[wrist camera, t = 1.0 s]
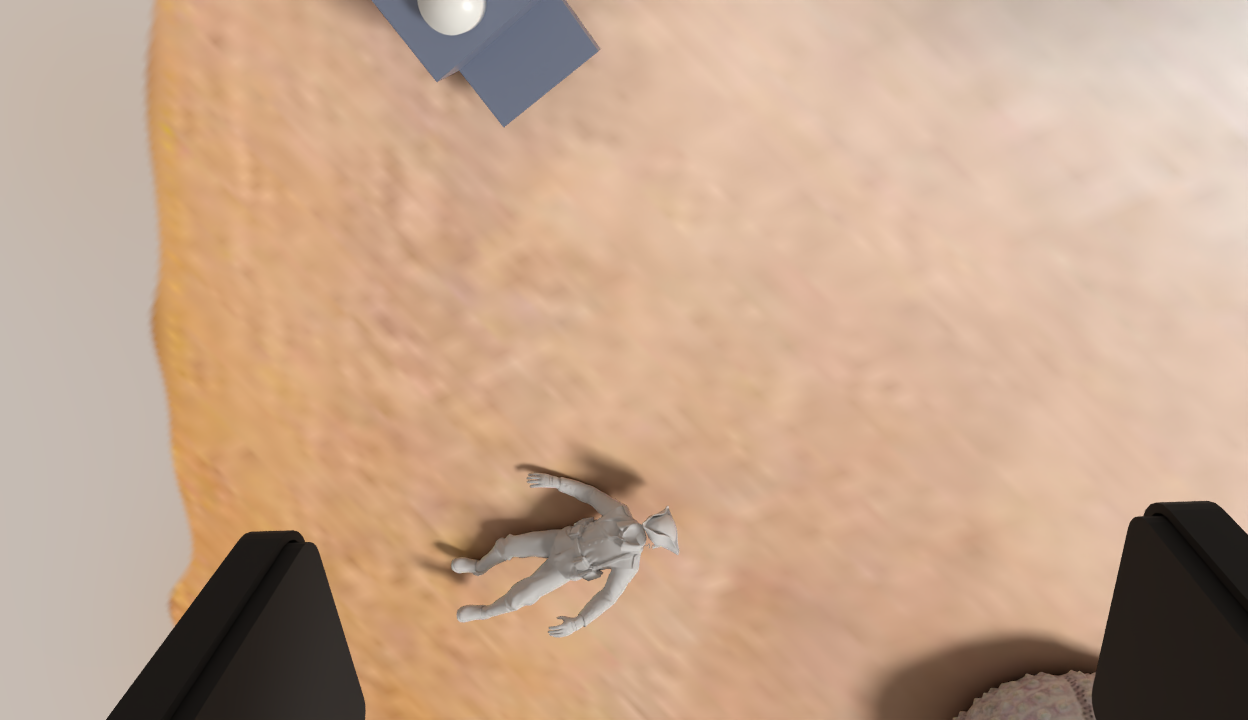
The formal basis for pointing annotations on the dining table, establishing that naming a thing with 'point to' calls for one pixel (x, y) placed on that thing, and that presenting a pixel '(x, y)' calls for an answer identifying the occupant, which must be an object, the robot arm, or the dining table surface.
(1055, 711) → the sea urchin shell
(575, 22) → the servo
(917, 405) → the dining table surface
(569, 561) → the soldier figure
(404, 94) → the dining table surface
